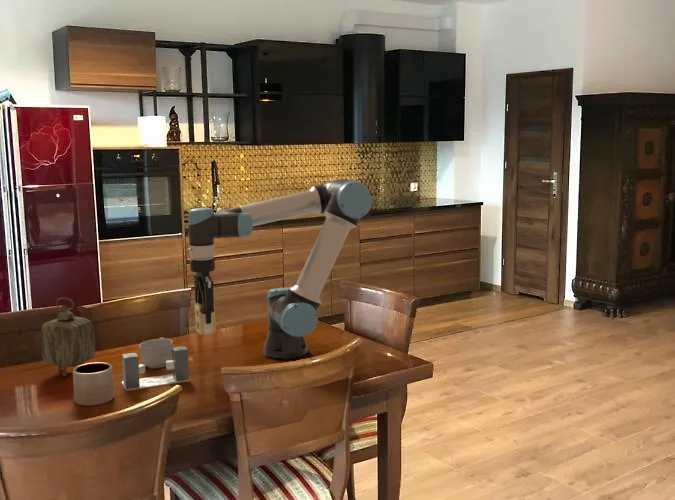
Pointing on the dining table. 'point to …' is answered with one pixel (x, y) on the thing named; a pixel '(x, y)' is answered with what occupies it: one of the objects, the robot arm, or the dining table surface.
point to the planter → (93, 383)
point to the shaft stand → (134, 369)
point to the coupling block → (200, 319)
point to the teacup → (156, 352)
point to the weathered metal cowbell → (67, 339)
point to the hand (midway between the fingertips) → (205, 330)
